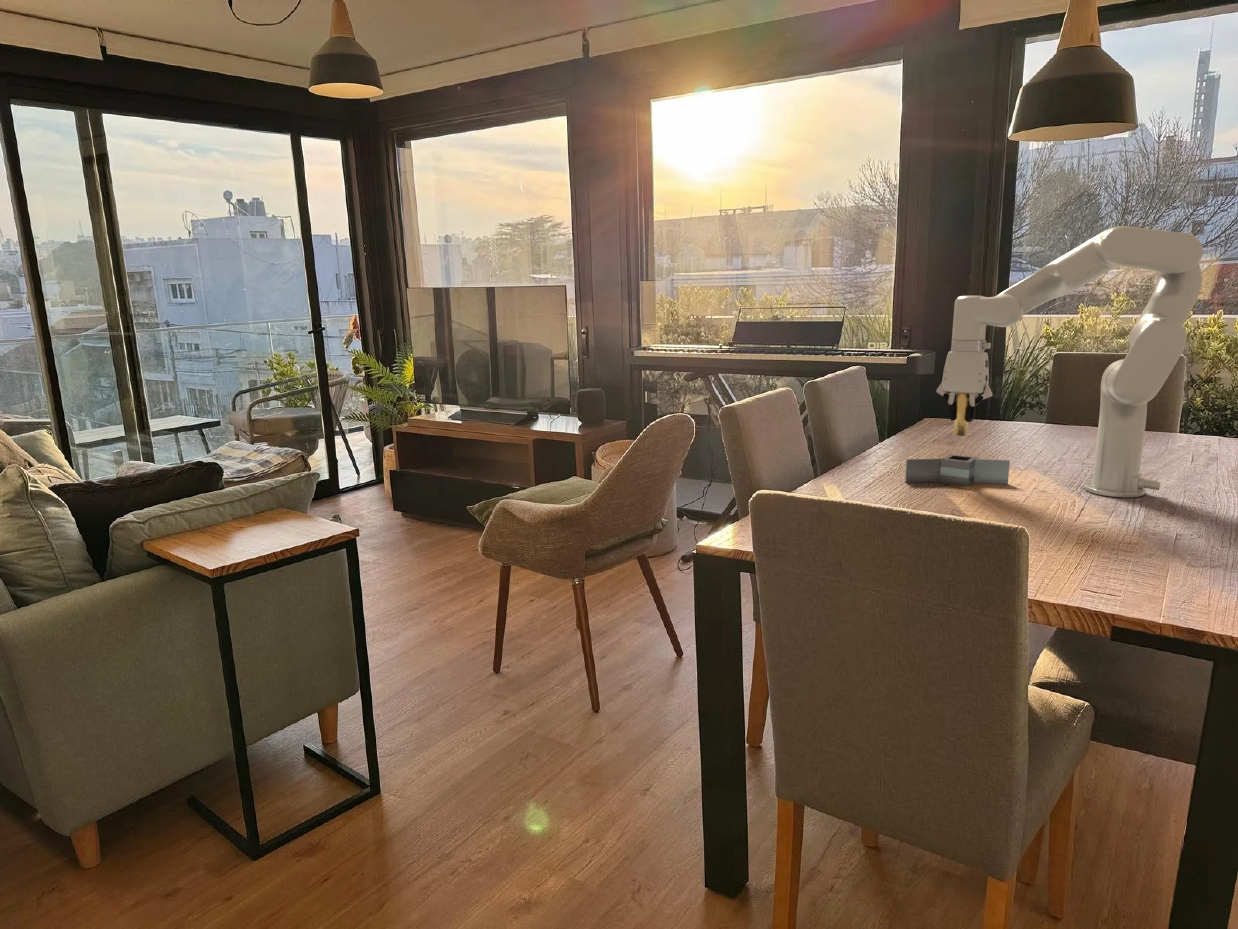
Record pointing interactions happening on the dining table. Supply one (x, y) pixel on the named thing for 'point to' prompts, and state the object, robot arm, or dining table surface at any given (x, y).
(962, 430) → the pin
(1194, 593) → the dining table surface
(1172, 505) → the dining table surface
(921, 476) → the grey winged square socket
